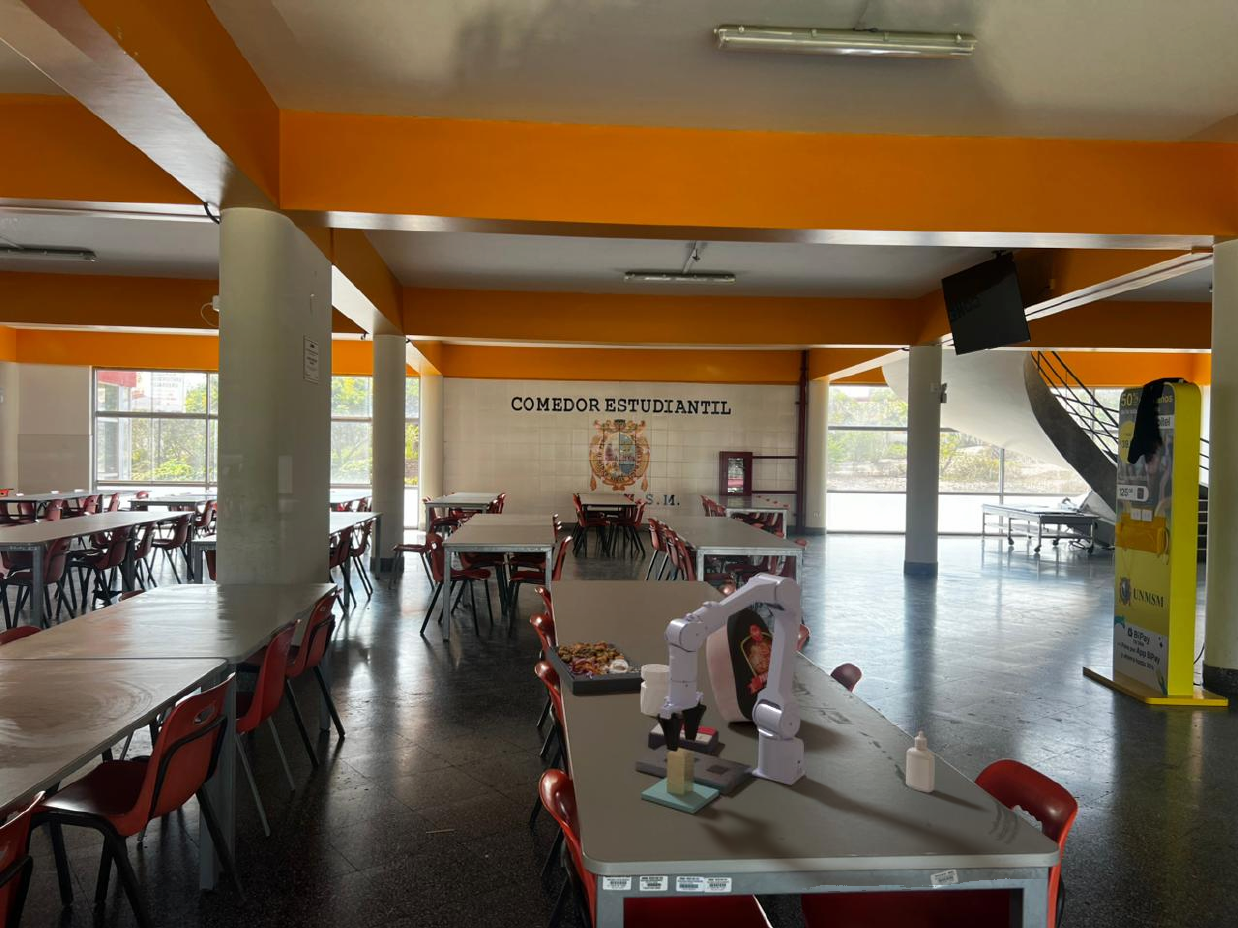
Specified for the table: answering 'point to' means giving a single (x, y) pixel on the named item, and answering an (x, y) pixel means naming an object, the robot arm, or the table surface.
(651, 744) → the calculator
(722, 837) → the table surface
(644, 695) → the white jar
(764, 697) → the robot arm
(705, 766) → the grey square-hole board
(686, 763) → the wooden block
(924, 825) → the table surface
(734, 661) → the packaged food
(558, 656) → the food platter
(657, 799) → the pad
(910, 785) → the eye dropper bottle
